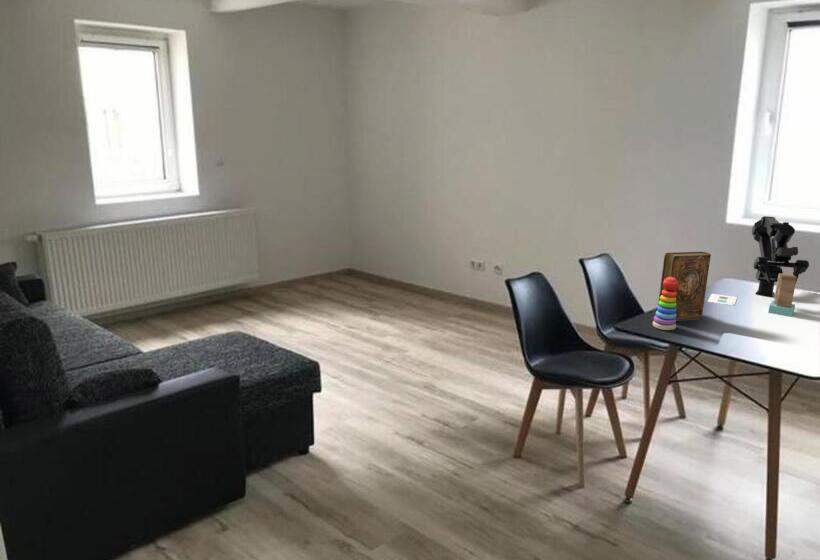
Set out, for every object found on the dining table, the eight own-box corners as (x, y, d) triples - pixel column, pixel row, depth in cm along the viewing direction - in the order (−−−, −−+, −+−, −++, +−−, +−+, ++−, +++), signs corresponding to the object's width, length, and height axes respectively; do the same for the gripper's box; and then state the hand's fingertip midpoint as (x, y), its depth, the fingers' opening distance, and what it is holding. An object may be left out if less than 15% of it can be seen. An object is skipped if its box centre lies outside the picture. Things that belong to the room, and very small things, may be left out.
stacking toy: (673, 332, 231) (680, 281, 226) (650, 328, 235) (656, 278, 230) (677, 326, 237) (684, 276, 232) (654, 322, 241) (661, 273, 236)
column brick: (773, 302, 258) (778, 273, 255) (787, 303, 257) (792, 274, 254) (776, 306, 254) (782, 276, 250) (791, 307, 252) (796, 277, 249)
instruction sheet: (711, 293, 280) (711, 293, 280) (737, 297, 275) (737, 296, 275) (707, 301, 268) (707, 301, 268) (734, 305, 263) (734, 305, 263)
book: (695, 314, 251) (703, 251, 244) (704, 319, 246) (713, 254, 239) (656, 316, 248) (664, 252, 241) (664, 321, 242) (673, 256, 236)
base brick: (771, 307, 261) (772, 300, 261) (793, 311, 257) (795, 304, 256) (768, 312, 255) (769, 305, 254) (791, 316, 251) (792, 309, 250)
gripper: (760, 237, 261) (761, 270, 254) (812, 240, 256) (815, 274, 249) (752, 251, 270) (754, 284, 263) (802, 255, 266) (805, 288, 258)
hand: (782, 282), depth 258 cm, fingers open, 9 cm apart
